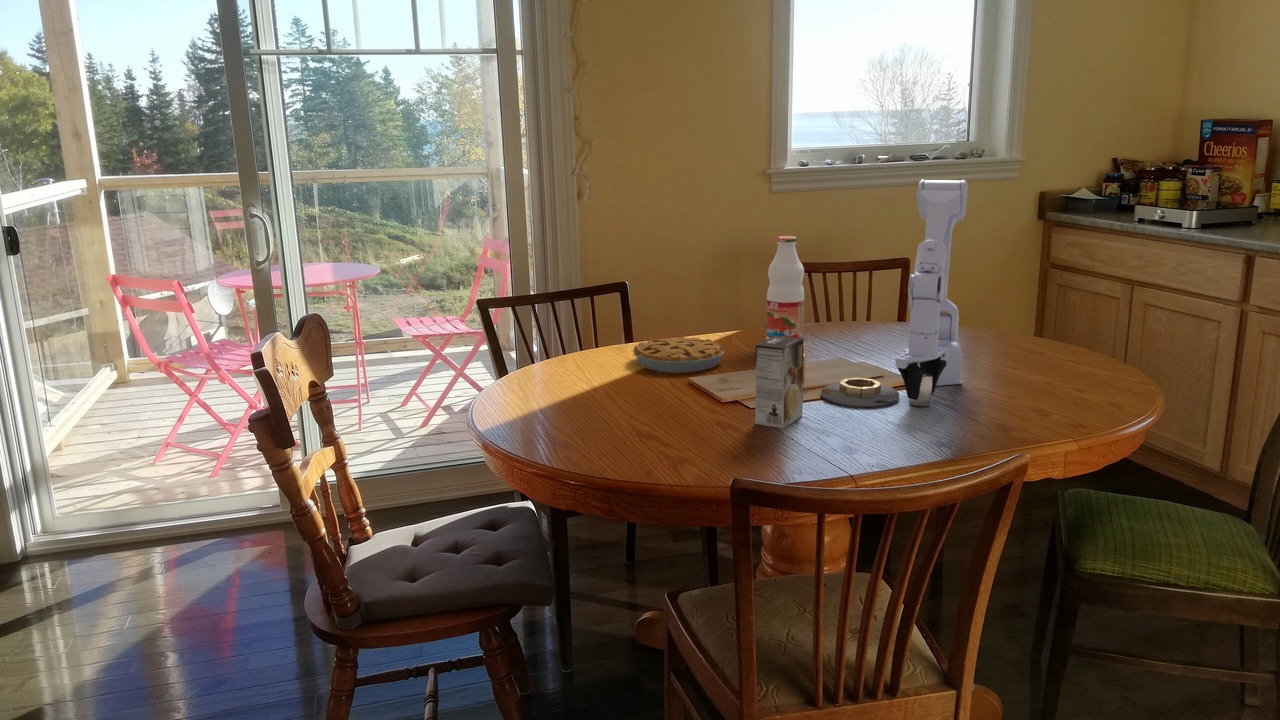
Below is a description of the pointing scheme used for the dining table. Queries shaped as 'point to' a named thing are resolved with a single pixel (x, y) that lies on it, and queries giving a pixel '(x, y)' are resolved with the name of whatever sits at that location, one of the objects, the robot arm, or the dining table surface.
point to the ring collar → (860, 393)
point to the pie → (678, 354)
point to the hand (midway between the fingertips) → (920, 396)
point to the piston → (924, 391)
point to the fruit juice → (785, 291)
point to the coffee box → (779, 381)
